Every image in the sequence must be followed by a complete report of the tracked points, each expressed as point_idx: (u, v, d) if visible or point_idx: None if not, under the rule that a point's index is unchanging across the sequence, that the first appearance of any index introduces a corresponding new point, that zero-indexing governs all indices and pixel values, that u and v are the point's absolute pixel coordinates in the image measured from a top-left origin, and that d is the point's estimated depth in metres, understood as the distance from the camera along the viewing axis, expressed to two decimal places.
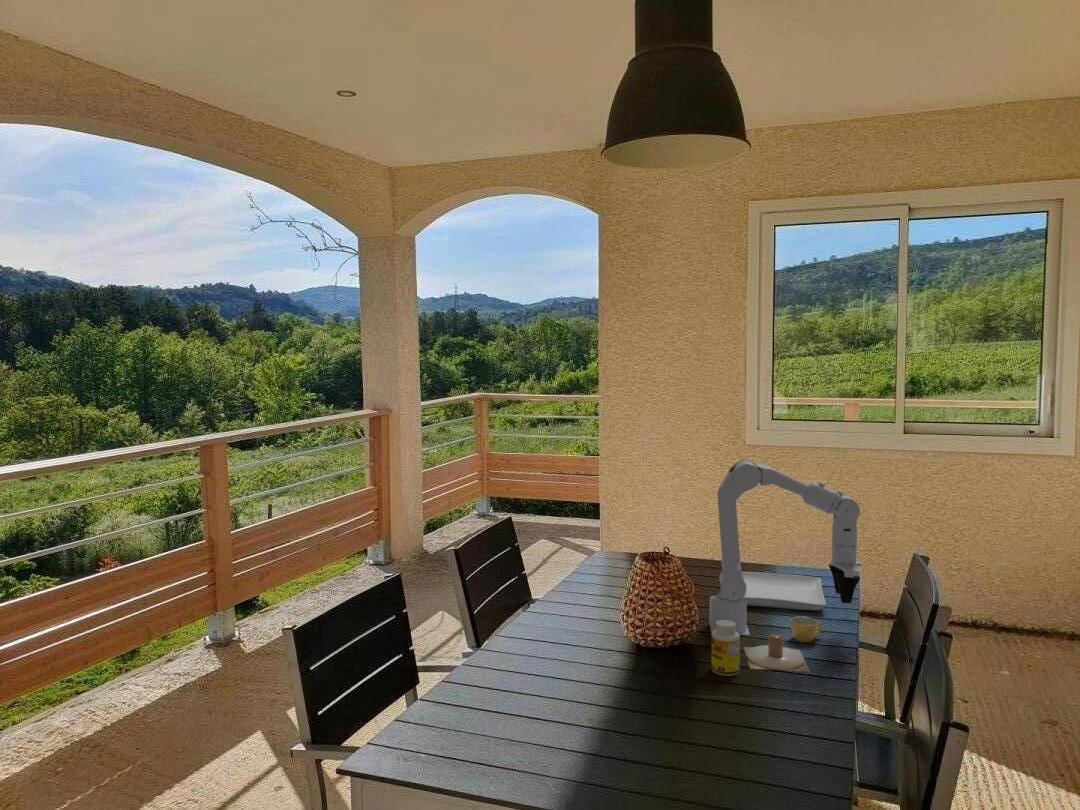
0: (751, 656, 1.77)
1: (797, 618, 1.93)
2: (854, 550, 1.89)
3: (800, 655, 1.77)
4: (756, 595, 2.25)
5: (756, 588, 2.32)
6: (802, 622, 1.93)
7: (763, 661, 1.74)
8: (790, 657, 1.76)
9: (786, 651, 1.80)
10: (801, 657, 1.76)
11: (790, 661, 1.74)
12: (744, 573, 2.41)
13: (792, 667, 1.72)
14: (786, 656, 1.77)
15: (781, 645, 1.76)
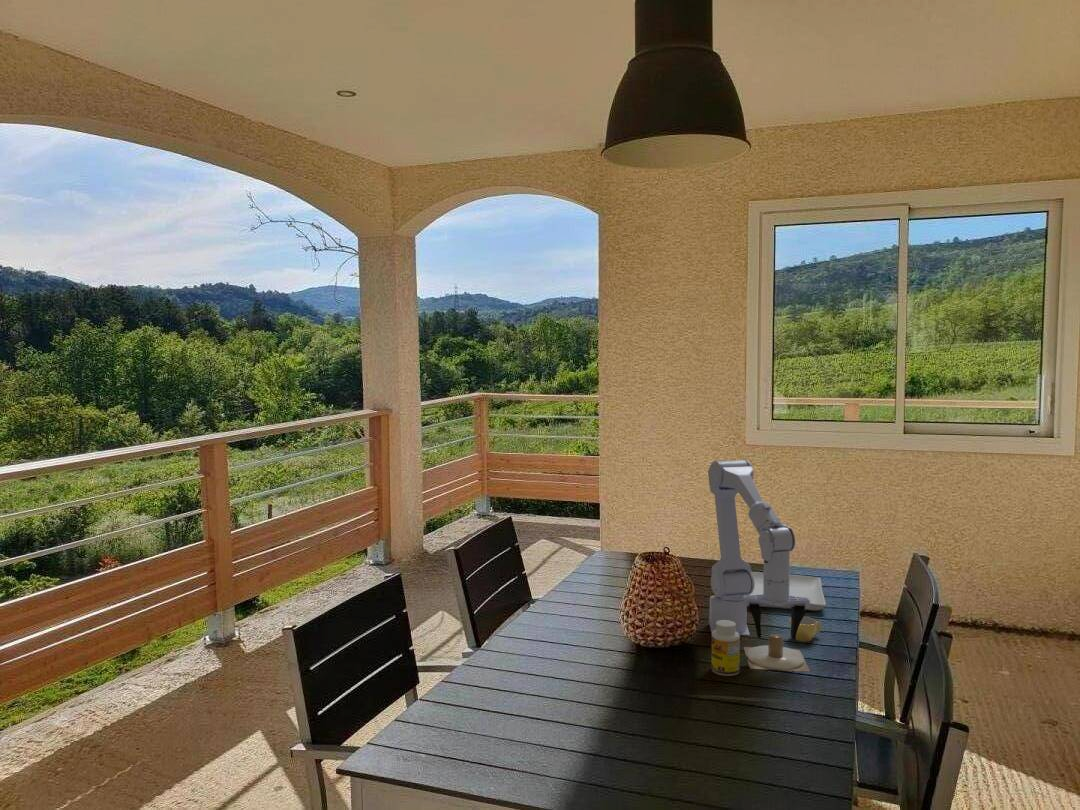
0: (751, 656, 1.77)
1: None
2: (769, 585, 1.75)
3: (800, 655, 1.77)
4: None
5: (756, 588, 2.32)
6: (801, 622, 1.93)
7: (763, 661, 1.74)
8: (790, 657, 1.76)
9: (786, 651, 1.80)
10: (801, 657, 1.76)
11: (790, 661, 1.74)
12: None
13: (792, 667, 1.72)
14: (786, 656, 1.77)
15: (781, 645, 1.76)
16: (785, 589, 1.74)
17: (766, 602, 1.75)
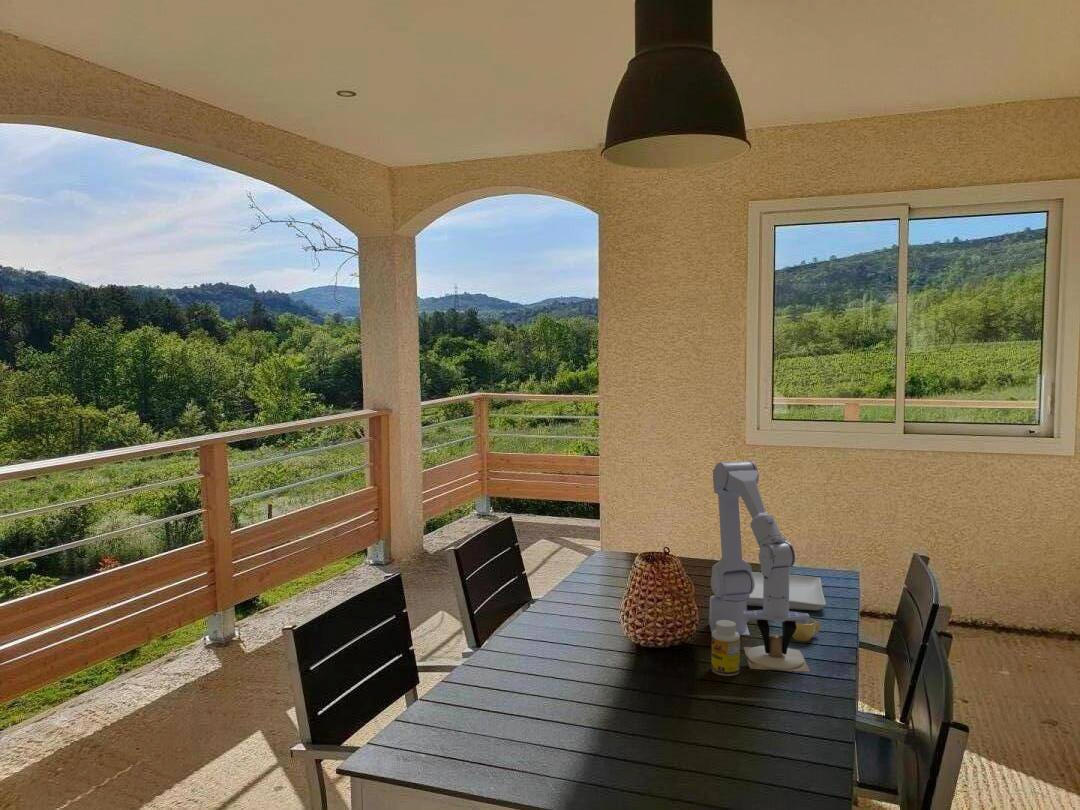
0: (751, 656, 1.77)
1: None
2: (768, 601, 1.75)
3: (800, 655, 1.77)
4: (756, 595, 2.25)
5: (756, 588, 2.32)
6: None
7: (763, 661, 1.74)
8: (790, 657, 1.76)
9: None
10: (801, 657, 1.76)
11: (790, 661, 1.74)
12: None
13: (792, 667, 1.72)
14: (786, 656, 1.77)
15: (781, 645, 1.76)
16: (785, 605, 1.74)
17: (766, 618, 1.75)
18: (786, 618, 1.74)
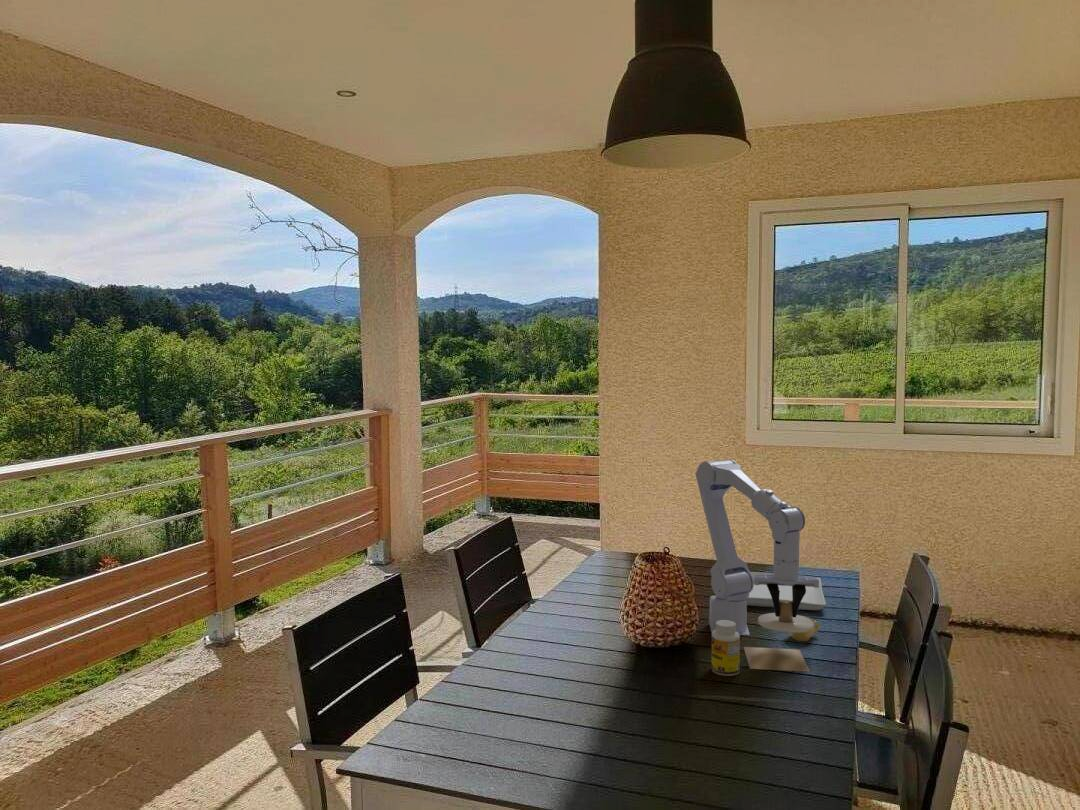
0: (761, 621, 1.81)
1: None
2: (779, 565, 1.79)
3: (810, 621, 1.81)
4: (756, 595, 2.25)
5: (756, 588, 2.32)
6: None
7: (773, 625, 1.78)
8: (800, 622, 1.80)
9: (796, 617, 1.83)
10: (811, 622, 1.80)
11: (800, 625, 1.77)
12: None
13: (801, 630, 1.75)
14: (796, 621, 1.80)
15: (791, 610, 1.80)
16: (795, 569, 1.78)
17: (776, 581, 1.79)
18: (796, 581, 1.78)
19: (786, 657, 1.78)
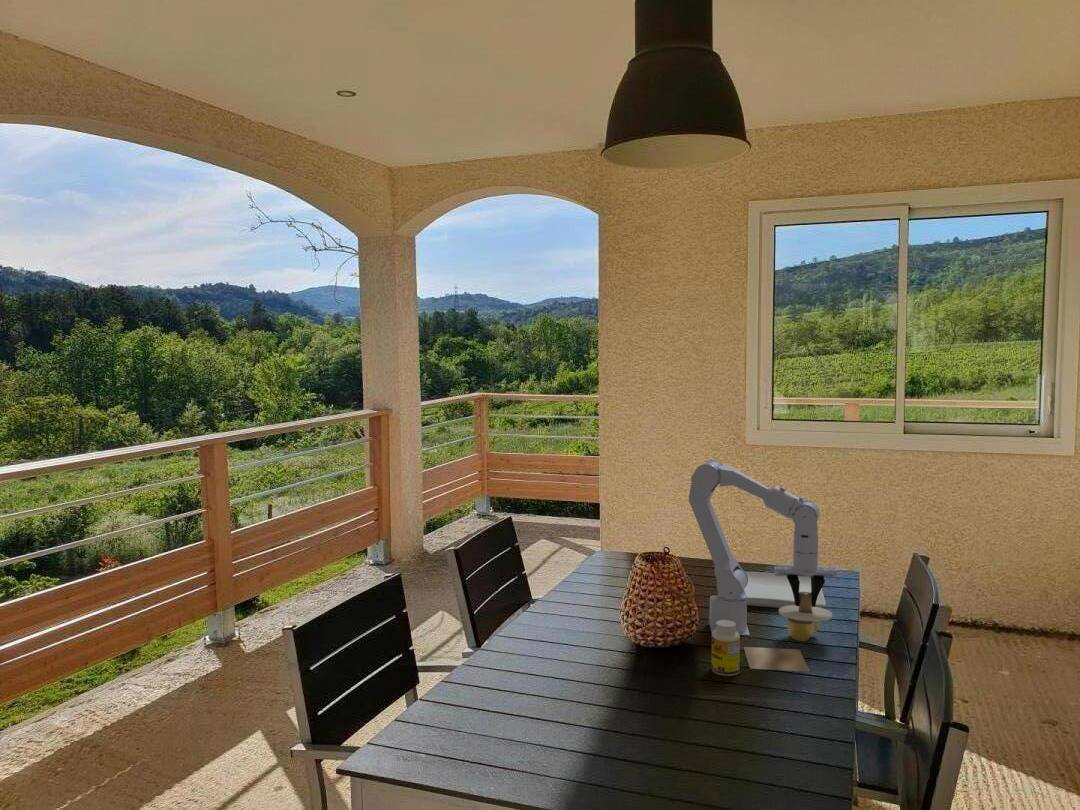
0: (782, 611, 1.89)
1: None
2: (799, 556, 1.87)
3: (829, 612, 1.89)
4: (756, 595, 2.25)
5: (756, 588, 2.32)
6: (799, 621, 1.93)
7: (793, 614, 1.86)
8: (819, 613, 1.88)
9: (816, 609, 1.91)
10: (830, 613, 1.87)
11: (819, 615, 1.85)
12: None
13: (820, 619, 1.83)
14: (816, 612, 1.88)
15: (810, 601, 1.88)
16: (814, 560, 1.86)
17: (796, 572, 1.87)
18: (815, 572, 1.86)
19: (786, 657, 1.78)
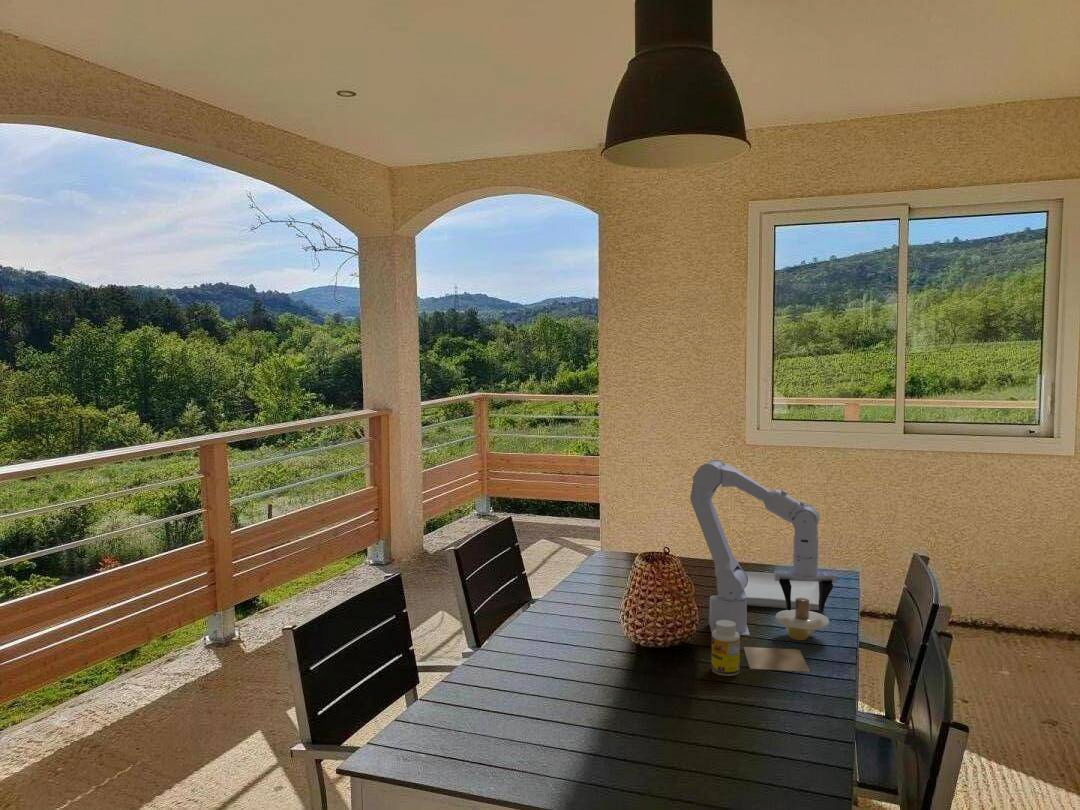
0: (779, 618, 1.90)
1: None
2: (798, 561, 1.87)
3: (825, 618, 1.89)
4: (756, 595, 2.25)
5: (756, 588, 2.32)
6: None
7: (790, 622, 1.87)
8: (816, 619, 1.88)
9: (812, 614, 1.92)
10: (826, 619, 1.88)
11: (816, 622, 1.86)
12: None
13: (817, 627, 1.84)
14: (812, 618, 1.89)
15: (807, 608, 1.88)
16: (814, 565, 1.86)
17: (796, 577, 1.87)
18: (815, 577, 1.86)
19: (786, 657, 1.78)
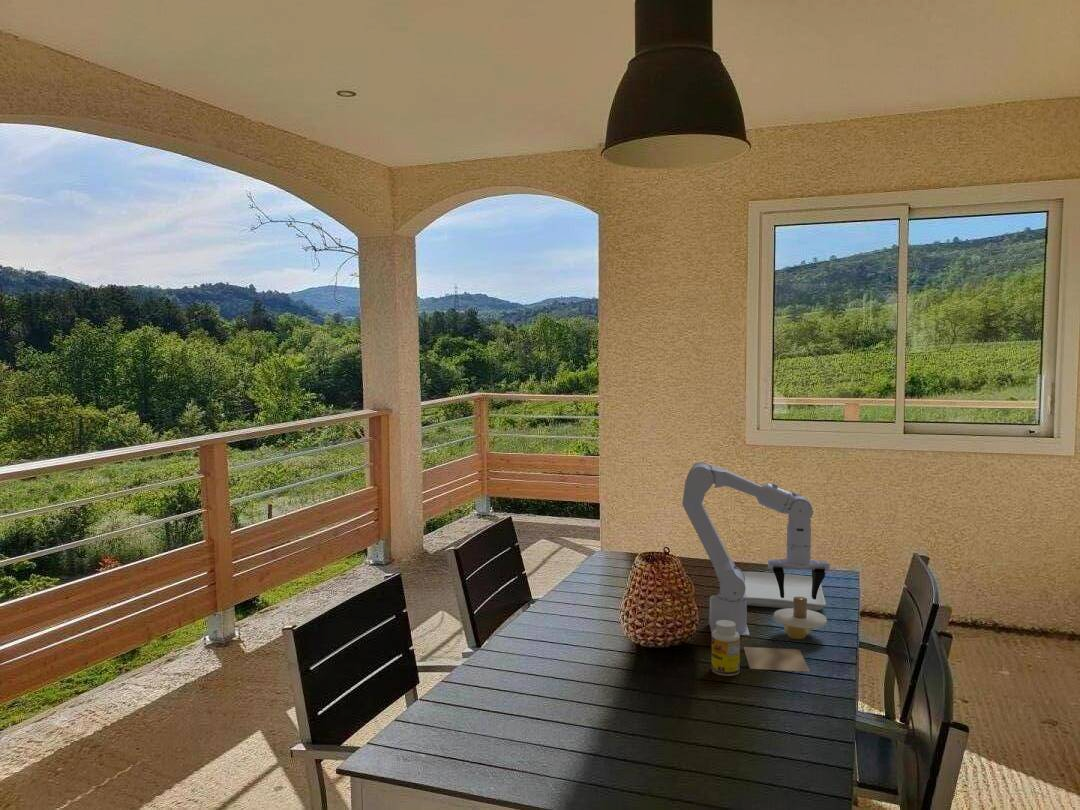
0: (777, 616, 1.91)
1: None
2: (792, 549, 1.91)
3: (823, 616, 1.90)
4: (756, 595, 2.25)
5: (756, 588, 2.32)
6: None
7: (788, 621, 1.88)
8: (814, 618, 1.90)
9: (810, 613, 1.93)
10: (824, 618, 1.89)
11: (813, 621, 1.87)
12: (744, 573, 2.41)
13: (815, 626, 1.85)
14: (810, 617, 1.90)
15: (805, 606, 1.90)
16: (807, 553, 1.90)
17: (789, 565, 1.91)
18: (808, 565, 1.90)
19: (786, 657, 1.78)
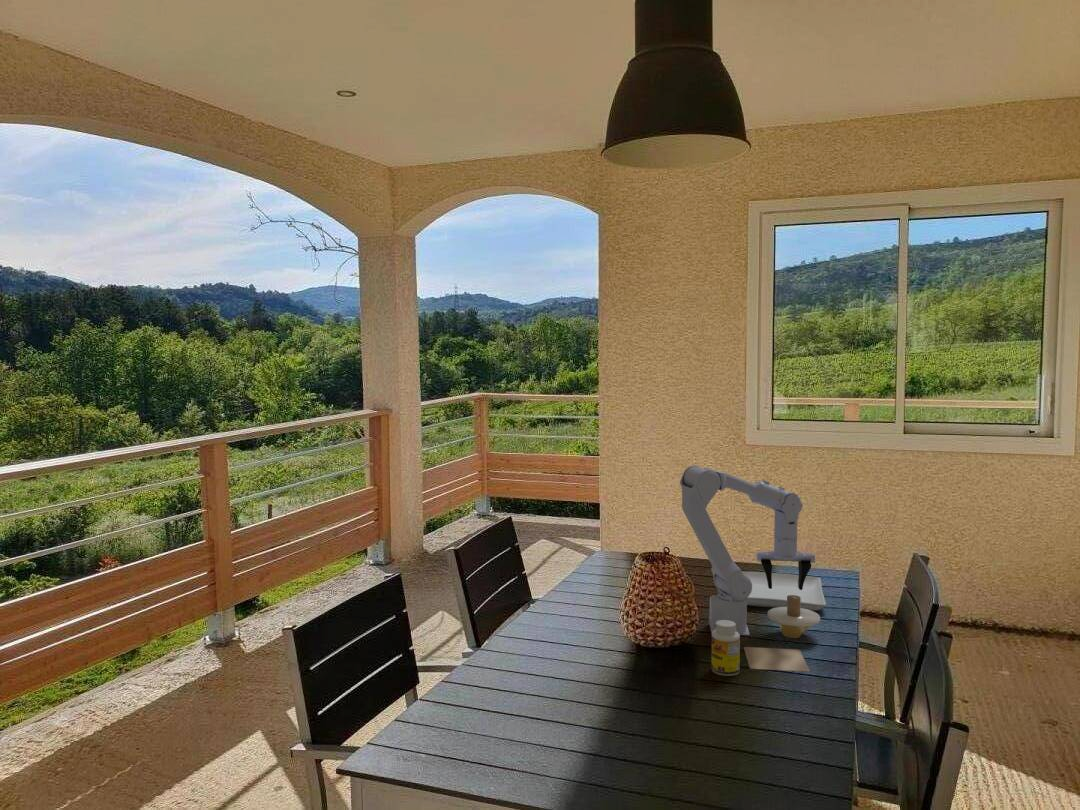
0: (771, 615, 1.92)
1: None
2: (779, 542, 1.98)
3: (817, 615, 1.92)
4: (756, 595, 2.25)
5: (756, 588, 2.32)
6: None
7: (781, 619, 1.89)
8: (807, 616, 1.91)
9: (804, 611, 1.95)
10: (817, 616, 1.91)
11: (807, 619, 1.88)
12: (744, 573, 2.41)
13: (808, 624, 1.86)
14: (804, 615, 1.91)
15: (799, 605, 1.91)
16: (793, 545, 1.98)
17: (777, 557, 1.98)
18: (794, 557, 1.97)
19: (786, 657, 1.78)
